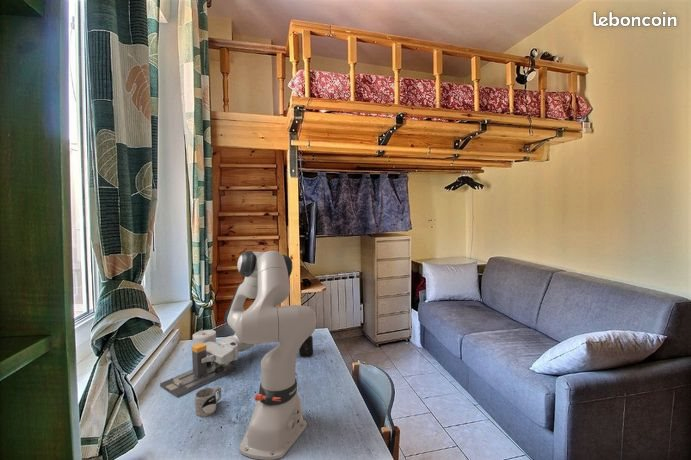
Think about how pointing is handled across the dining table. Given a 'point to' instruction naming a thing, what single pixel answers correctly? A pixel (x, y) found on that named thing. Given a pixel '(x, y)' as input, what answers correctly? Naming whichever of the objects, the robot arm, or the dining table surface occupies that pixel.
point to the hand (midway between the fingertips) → (197, 359)
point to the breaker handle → (198, 353)
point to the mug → (206, 401)
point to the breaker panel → (196, 379)
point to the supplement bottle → (306, 347)
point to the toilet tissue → (204, 337)
